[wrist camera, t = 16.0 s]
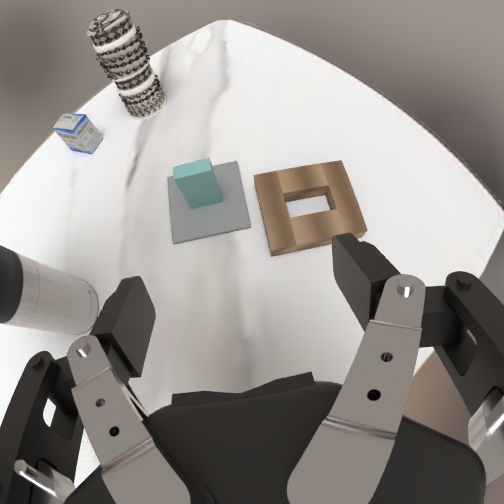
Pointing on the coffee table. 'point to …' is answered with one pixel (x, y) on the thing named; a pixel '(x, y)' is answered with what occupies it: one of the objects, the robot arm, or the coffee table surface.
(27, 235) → the coffee table surface
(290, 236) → the holder
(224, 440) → the robot arm
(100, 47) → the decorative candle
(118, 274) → the coffee table surface
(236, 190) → the mat
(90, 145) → the medicine box
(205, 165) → the teal rectangular block
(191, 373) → the coffee table surface
